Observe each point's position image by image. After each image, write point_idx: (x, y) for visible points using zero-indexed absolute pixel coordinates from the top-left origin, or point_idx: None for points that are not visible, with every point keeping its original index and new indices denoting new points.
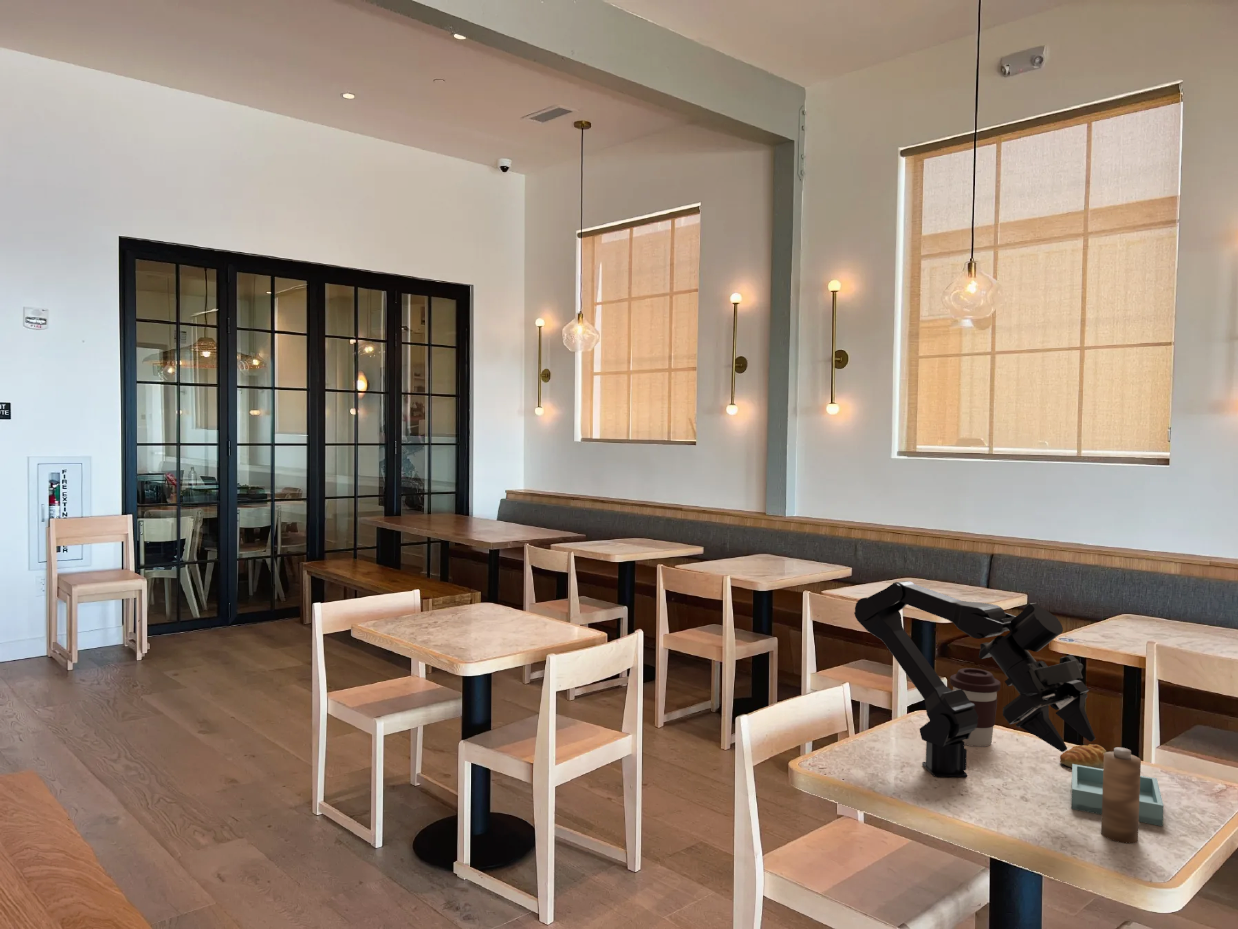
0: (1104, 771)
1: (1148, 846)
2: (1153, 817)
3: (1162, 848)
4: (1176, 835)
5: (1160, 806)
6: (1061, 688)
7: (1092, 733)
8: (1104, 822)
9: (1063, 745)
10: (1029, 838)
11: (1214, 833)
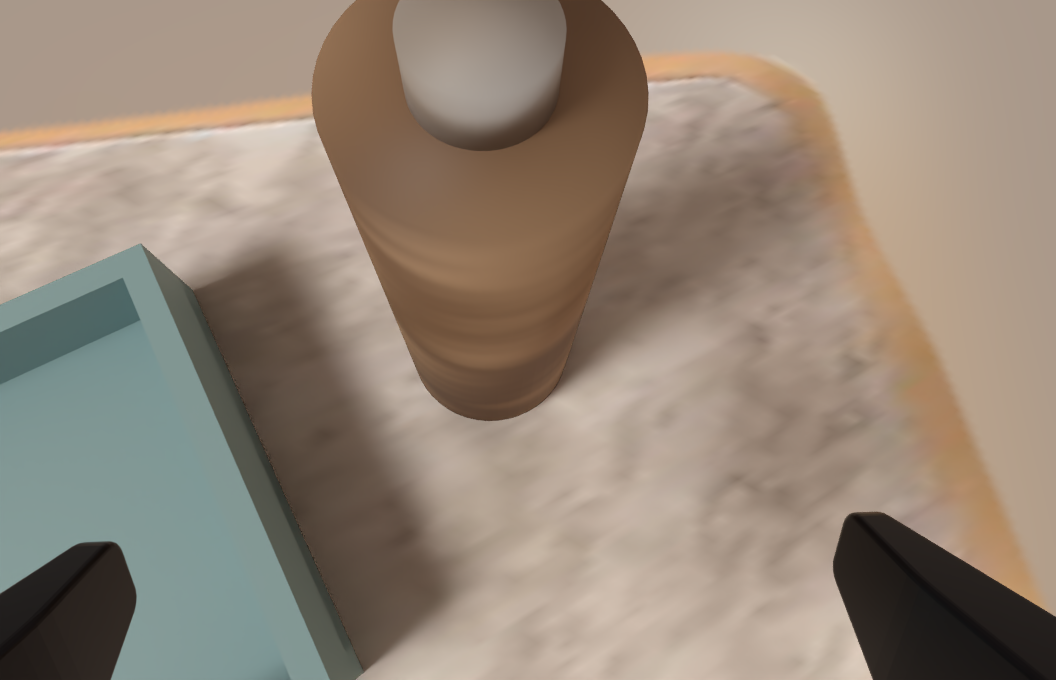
0: (590, 258)
1: None
2: (191, 310)
3: None
4: (249, 218)
5: (148, 258)
6: None
7: (41, 587)
8: (564, 362)
9: (926, 540)
10: None
11: (82, 144)
